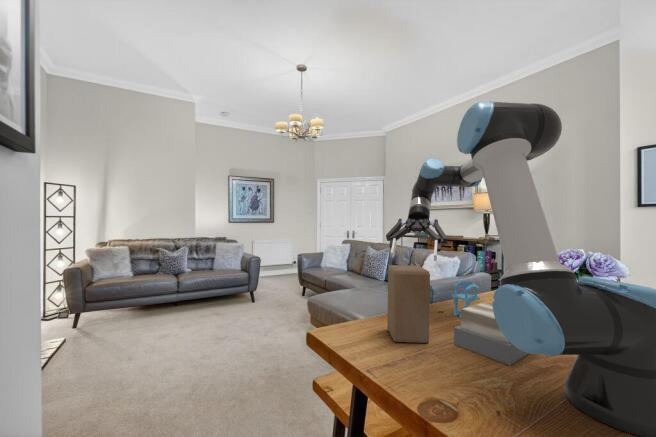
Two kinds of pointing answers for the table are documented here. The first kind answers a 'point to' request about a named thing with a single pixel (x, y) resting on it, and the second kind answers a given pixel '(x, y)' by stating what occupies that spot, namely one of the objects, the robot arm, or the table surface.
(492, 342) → the tower base
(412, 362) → the table surface
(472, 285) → the chair
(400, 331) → the block
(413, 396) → the table surface
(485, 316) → the tower top
